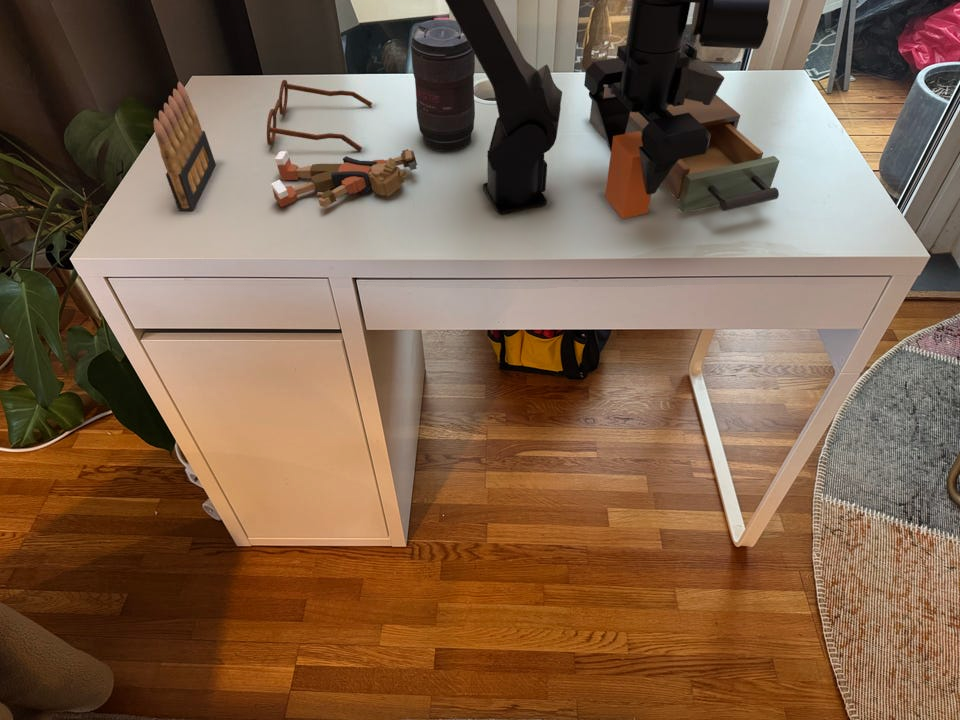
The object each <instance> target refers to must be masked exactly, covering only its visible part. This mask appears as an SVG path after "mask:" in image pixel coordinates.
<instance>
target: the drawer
mask: <svg viewBox="0 0 960 720" xmlns="http://www.w3.org/2000/svg"><path fill="white" fill-rule="evenodd" d="M705 128H706V129H707V130H708V131H709V132H710V134H711V137H710V141H709V145H708V149H707V152H706V154H702V155H697V156H692V157H688V158H683V159H679V160H678V161H677V163H676V164H675V165H674V166H673V167H672V169H671V170H670V172H669V173H668V175H667V176H666V178H665V179H664V181H663V182H662V184H661V185H663V186H664V188H665V189H667V191H668V192H669V193H670V194H671V195H672V196H673V197H674V198H675V199H676V201H678V205H677V209H678V211H679V212H681V214H685V213H690V212H694V211H699V210H703V209H707V208H712V207H717V206H719V209H720V210H721V211H723V212H727V211H732V210H737V209H740V208H743V207H749V206H753V205H757V204H762V203H766V202H770V201H774V200H777V199H778V198H779V195H780V193H779V190H778V189H779V188H777V187H772V184H773V182H774V178H775V176H776V173H777V171H778V167H779V164H780V160H779V159H778V158H777V157H776V156H775V155H772V156H768V157H767V156H766V157H763V155H764V152H763V151H762V150H761V149H760V148H759V147H758V146H756V145H755V144H754V143H753V142H752V141H750V140H749V139H748V138H747V137H746V136H745V135H744V134H743V133H741V132H740V131H739V130H738V129H735V128H734V127H733V126H732V125H731V124H730V123H729V122H727V123H722V124H717V125H712V126H707V127H705Z"/></svg>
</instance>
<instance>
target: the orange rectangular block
mask: <svg viewBox="0 0 960 720" xmlns="http://www.w3.org/2000/svg"><path fill="white" fill-rule="evenodd" d="M641 137H642V133H641V132H640V131H637V132H632V133H627V134H622V135H617V136H613V142H612V149H611V152H610V157H609V164H608V171H607V178H606V186H605V191H604V198H605V199H606V200H607V202H608V203H609V204H610V205H611V206H612V208H613V209H614V210H615V212H616V213H617V214H618V216H619V217H620V218H621V219H623V220H624V219H628V218H632V217H637V216H642V215H646V214H648V213H649V208H650V204H651V198H652V194H650V195H647V194H646V192H645V187H644V181H643V174H642V167H641V160H640V153H639V147H640V146H643V144H642V140H641Z"/></svg>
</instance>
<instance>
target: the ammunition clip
mask: <svg viewBox="0 0 960 720" xmlns="http://www.w3.org/2000/svg"><path fill="white" fill-rule="evenodd" d="M153 128H154V129H153V130H154V134H155V137H156V140H157V144H158V146H159V150H160V156H161V158H162V159H161V160H162V161H163V164H164V167H165V170H166V173H165V177H166V179H167V182H168V185H169V188H170V191H171V193H172V196H173V199H174V201H175V204H176V207H177V210H178V211H179V212H181V211H183V212H185V211H186V212H188V211H190V212H191V211H194V210H195V209H196V206H197V204H198V202H199V200H200V199H201V196H202V194H203V192H204V190H205V188H206V186H207V185H208V182H209V181H210V178H211V176H212V174H213V172H214V169H215V168H216V166H217V163H216V160H215V158H214V155H213V152H212V149H211V146H210V143H209V140H208V137H207V133H206V131H205V130H203V129H202V127H201V123H200V120H199V117H198V114H197V112H196V110H195V109H194V106H193V104H192V102H191V99H190V96H189V94H188V92H187V90H186V87H185V86H184V85H183V83H182V82H180V81H178V82H177V89H176V88H173V89H172V95H168V101H167V102H164V103H163V110H159V111H158V119H157V118H156V117H154V119H153Z"/></svg>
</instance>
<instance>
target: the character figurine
mask: <svg viewBox="0 0 960 720" xmlns="http://www.w3.org/2000/svg"><path fill="white" fill-rule="evenodd" d="M414 152H415V151H414V150H411V149H408V148H406V149H403V150H401V153H400V156H397V157H394V158H392V157H389V158H388V159H374V160H359V159H355V158H352V157H349V156H347V155H345V156H344V157H343V158H342V161H343V163H313V164H312V165H306V166H302V167H299V165H297V164H294V163H292V162H291V159H290V157H289V153H288V150H281V151H278V153H277V155H276V157H275V158H274V160H275V163H276V165H277V169H278V173H279V175H280V178H281V180H280V179H278V180H275V181H274V182H272V183H271V187H272V193H273V198H274V200H276V203H277V204H278V205H279V207H280V208H283V207H285V206H288V205H290V204H292V203H294V202H295V201H296V200H298V196H299V195H300V196H301V195H304V194H307V193H309V192H312V191H315V192H316V196H318V197H319V198H318V199H317V200H318V203H319V206H320V207H322V208H325V209H326V208H327V207H328V206H330V205H331V204H333V203H335V202H337V198H339V197H341V196H343V195H345V194H348V195H351V194H357V193H358V192H359V193H361V194H366V193H368V192H369V190H370V189H372V192H375V193H376V194H377V195H380V196H387V197H390V196H391V195H392V194H393V193H395V192H396V191H397V190H398V189H400V188H402V186H403V184H404V182H405V181H406V179H405V177H407V171H406V169H405V168H408V169H409V171H414V170H417V169H418V168H417V165H418V163H417V159H416V155H415V153H414ZM401 165H402V166H403V168H402V169H401V168H400V167H399V166H401ZM299 178H308V179H309V178H310V181H309V182H307V183H304V184H301V185H298V186H295V187H293V185H286V186H285V184H283V182H282V181H298V179H299ZM333 188H334V189H333ZM331 189H332V190H331Z"/></svg>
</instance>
